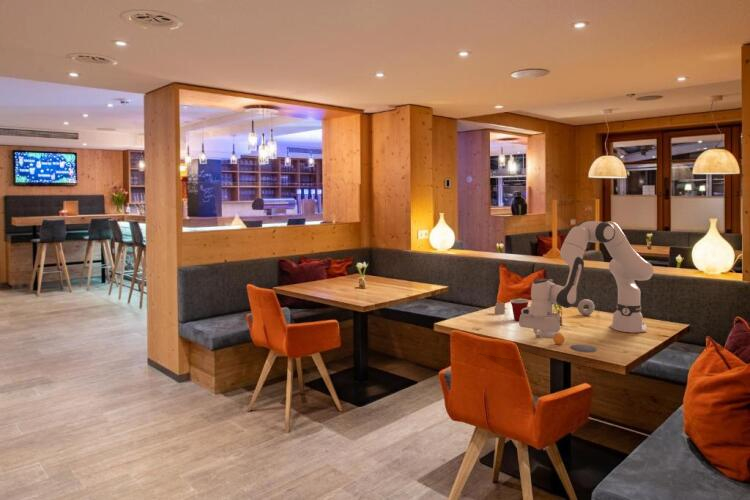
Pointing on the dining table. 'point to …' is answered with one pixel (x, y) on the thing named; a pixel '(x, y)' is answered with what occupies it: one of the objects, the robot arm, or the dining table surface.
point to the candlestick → (548, 333)
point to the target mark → (583, 348)
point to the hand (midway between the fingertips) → (538, 337)
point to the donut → (590, 309)
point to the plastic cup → (518, 307)
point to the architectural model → (500, 308)
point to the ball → (558, 338)
